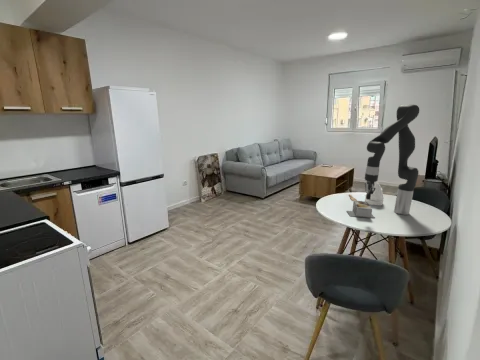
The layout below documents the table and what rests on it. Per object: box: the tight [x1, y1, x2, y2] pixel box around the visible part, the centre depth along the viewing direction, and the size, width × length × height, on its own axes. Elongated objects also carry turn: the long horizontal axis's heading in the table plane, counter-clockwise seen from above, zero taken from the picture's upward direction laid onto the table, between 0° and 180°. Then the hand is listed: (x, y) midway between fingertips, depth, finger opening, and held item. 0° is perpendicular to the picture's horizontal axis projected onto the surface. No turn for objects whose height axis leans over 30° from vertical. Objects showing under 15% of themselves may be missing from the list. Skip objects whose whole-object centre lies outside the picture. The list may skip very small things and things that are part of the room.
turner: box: [348, 194, 358, 202], centre depth 216 cm, size 15×4×1 cm, turn 172°
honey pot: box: [364, 181, 385, 206], centre depth 204 cm, size 13×13×18 cm
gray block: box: [346, 210, 376, 219], centre depth 179 cm, size 10×16×1 cm, turn 82°
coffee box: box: [352, 200, 373, 219], centre depth 180 cm, size 9×6×16 cm
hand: (368, 199), depth 169 cm, fingers closed
